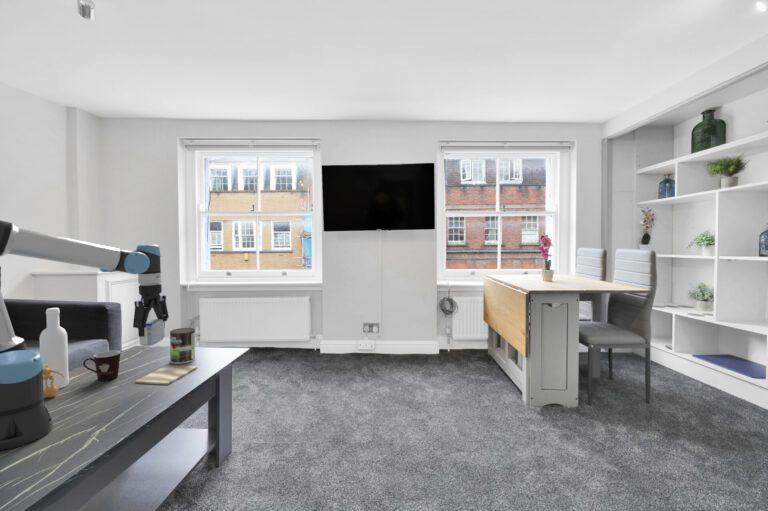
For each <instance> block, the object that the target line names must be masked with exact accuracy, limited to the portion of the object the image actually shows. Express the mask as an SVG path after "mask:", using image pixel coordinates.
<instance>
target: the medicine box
mask: <svg viewBox="0 0 768 511" xmlns="http://www.w3.org/2000/svg"><path fill="white" fill-rule="evenodd" d="M145 327H147V338H148V344H147V345H141V346H143V347H147V346H148V347H151V346H155V345H156V344H158V343H160V342H161V341H163V340H164V338H163V319H158V318H154V319H153V318H152V319H149V320H147V322H146V325H145Z"/></svg>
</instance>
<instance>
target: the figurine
mask: <svg viewBox="0 0 768 511" xmlns="http://www.w3.org/2000/svg"><path fill="white" fill-rule="evenodd" d="M51 372H55V373H58V374H59V375H61V376H62V377H63V375H62V374H61V373H59V372H58V371H55V370H51V369H50V368H49V366H48V365H47V366H46V367H45V368H44V369H43V375H44V376H43V379H44V381H46V382H45V385H46V388H45V390H43V393H44V398H45V397H46V398H49V399H50V398H54V397H56V396H57V394H59V389H58V388H57V387H56V386H54V385H52V383H53V381H54V378H53V376H52V375H51V376H50V373H51ZM48 378H49V379H50V380H52V381H51V386H48V385H47V383H48V382H47V380H48Z"/></svg>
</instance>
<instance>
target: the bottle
mask: <svg viewBox="0 0 768 511" xmlns="http://www.w3.org/2000/svg"><path fill="white" fill-rule="evenodd" d="M60 313H61V311H60V308H59V307H51V308H47V309H46V310H45V315H46V327H45V329H43V330H42V331H41V333H40V335H39V354H41V356H42V360H43V363H44V364H43V369H44V368H45V367H46V366H47V365H48V366H49V368H50V369H51V370H55V371H58V372H59V373H61V374H62V375H63V377H62V376H61V375H59V374H58V373H55V372H51V373H50V376H51V375H52V376H53V378H54V381H53V383H52V385H54V386H56V387H57V388H58V390H60V389H63V388H65V387H67V386H69V384H70V376H69V351H68V350H69V345H68V344H69V343H68V332H67V331H66V329H65V328H63V327H62V326H60V325H61V324H60V323H61V322H60ZM43 376H44V375H43ZM51 381H52V380H50V379H49V378H48V380H47V382H48V383H47V385H48V386H51ZM45 382H46V381H44V379H43V391H44V390H45V388H46V385H45Z"/></svg>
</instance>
